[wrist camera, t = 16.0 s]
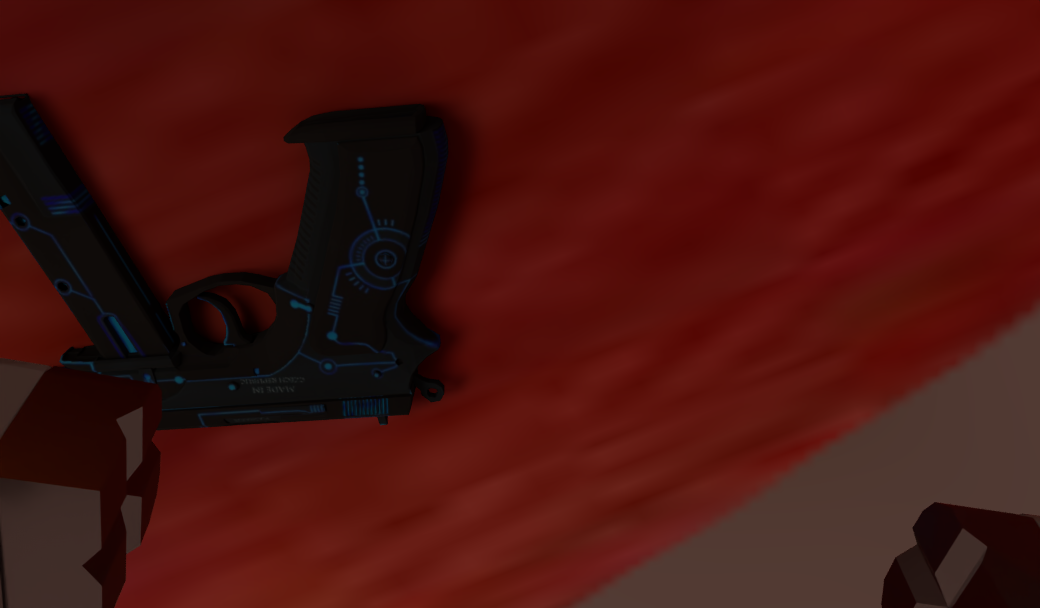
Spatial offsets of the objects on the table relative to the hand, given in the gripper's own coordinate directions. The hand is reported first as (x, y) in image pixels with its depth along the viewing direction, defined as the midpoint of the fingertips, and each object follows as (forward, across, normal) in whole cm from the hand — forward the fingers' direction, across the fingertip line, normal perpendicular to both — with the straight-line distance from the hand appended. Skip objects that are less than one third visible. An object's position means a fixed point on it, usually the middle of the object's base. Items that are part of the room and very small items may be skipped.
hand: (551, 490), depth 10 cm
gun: (+28, +11, +15) cm, 33 cm away
